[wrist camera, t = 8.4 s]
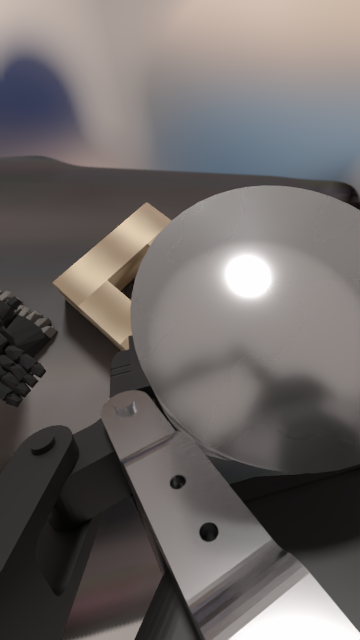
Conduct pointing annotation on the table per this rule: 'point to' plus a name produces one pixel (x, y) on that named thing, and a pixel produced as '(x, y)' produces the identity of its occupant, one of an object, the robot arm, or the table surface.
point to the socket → (112, 274)
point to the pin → (257, 327)
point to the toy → (20, 347)
